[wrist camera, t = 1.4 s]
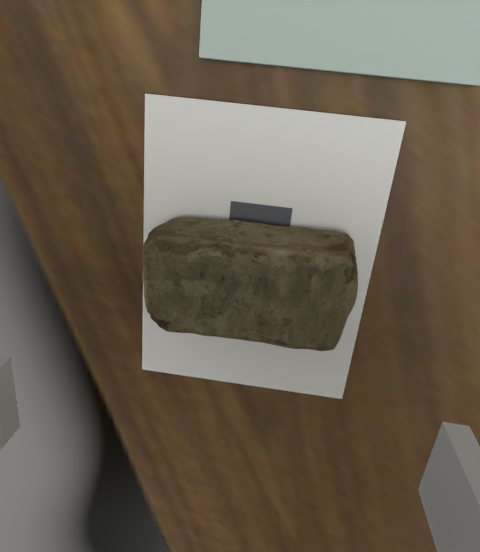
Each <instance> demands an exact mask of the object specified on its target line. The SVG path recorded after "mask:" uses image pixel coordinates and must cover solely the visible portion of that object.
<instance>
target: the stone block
mask: <svg viewBox="0 0 480 552" xmlns="http://www.w3.org/2000/svg"><path fill="white" fill-rule="evenodd" d="M142 262H143V273H142V280H143V283H144V298H145V305H146V309H147V312H148V313H149V314H150V317H151V319H152V320H153V321H154V322H155V323H157V325H158V326H159V327H160V328H162V329H164V330H165V331H167V332H177V333H194V334H198V335H203V336H213V337H222V338H230V339H239V340H246V341H253V342H262V343H267V344H272V345H276V346H281V347H285V348H292V349H311V350H317V351H329V350H333V349H335V347H336V345H337V344H338V342H339V340H340V338H341V335H342V332H343V329H344V327H345V324H346V321H347V318H348V316H349V314H350V312H351V311H352V309H353V307H354V304H355V301H356V297H357V291H358V270H357V263H356V256H355V248H354V241H353V239H352V238H351V237H350V236H349V235H348V234H347V233H340V232H337V231H327V230H315V229H310V228H305V227H288V226H274V225H268V224H263V223H255V222H244V221H239V220H219V219H208V218H195V217H178V218H173V219H171V220H169V221H167V222H165V223H163V224H161V225H159V226H157V227H155V228H153V229H152V231H151V232H149V234H148V238H147V239H146V241H145V243H144V245H143V250H142Z"/></svg>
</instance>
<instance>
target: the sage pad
mask: <svg viewBox="0 0 480 552" xmlns="http://www.w3.org/2000/svg"><path fill="white" fill-rule="evenodd" d="M199 57H200V58H202V59H211V60H221V61H231V62H240V63H250V64H260V65H270V66H280V67H290V68H300V69H310V70H320V71H330V72H340V73H349V74H359V75H369V76H379V77H389V78H399V79H409V80H419V81H429V82H439V83H449V84H458V85H468V86H480V0H202V11H201V29H200V48H199Z"/></svg>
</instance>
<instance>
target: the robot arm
mask: <svg viewBox="0 0 480 552" xmlns="http://www.w3.org/2000/svg"><path fill="white" fill-rule="evenodd" d="M19 427H20V423H19V416H18V408H17V401H16V395H15V386H14V379H13V372H12V365H11V358H10V357H4V356H0V450H1V449H2V448H3V447H4V445H5V444H6V443H7V442H8V441H9V439H10V438H11V437H12V436H13V434H14V433H15V432H16V431H17V429H18V428H19ZM418 492H419V495H420V498H421V501H422V505H423V508H424V511H425V514H426V517H427V521H428V524H429V527H430V530H431V534H432V537H433V540H434V543H435V547H436V550H437V552H480V446H479V444H478V442H477V440H476V438H475V436H474V434H473V432H472V430H471V428H470V426H467V425H460V424H453V423H447V422H442V424H441V427H440V430H439V432H438V435H437V438H436V441H435V444H434V446H433V449H432V452H431V455H430V458H429V460H428V463H427V466H426V469H425V471H424V474H423V477H422V480H421V483H420V485H419V488H418Z"/></svg>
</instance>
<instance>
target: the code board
mask: <svg viewBox="0 0 480 552" xmlns="http://www.w3.org/2000/svg"><path fill="white" fill-rule="evenodd" d="M405 125H406V121H398V120H389V119H380V118H370V117H361V116H352V115H342V114H333V113H324V112H314V111H305V110H296V109H286V108H277V107H268V106H258V105H249V104H239V103H230V102H221V101H211V100H202V99H193V98H183V97H174V96H165V95H155V94H145V146H144V238H143V245H144V243H145V241H146V239H147V238H148V234H149V232H151V231H152V229H153V228H155V227H157V226H159V225H161V224H163V223H165V222H167V221H169V220H171V219H173V218H178V217H195V218H208V219H219V220H239V221H244V222H255V223H263V224H268V225H274V226H288V227H305V228H310V229H315V230H327V231H337V232H340V233H347V234H348V235H349V236H350V237H351V238H352V239H353V241H354V248H355V256H356V263H357V270H358V291H357V297H356V301H355V304H354V307H353V309H352V311H351V312H350V314H349V316H348V318H347V321H346V324H345V327H344V329H343V332H342V335H341V338H340V340H339V342H338V344H337V345H336V347H335V349H333V350H329V351H317V350H311V349H292V348H285V347H281V346H276V345H272V344H267V343H262V342H253V341H246V340H239V339H230V338H222V337H213V336H203V335H198V334H194V333H177V332H167V331H165V330H164V329H162V328H160V327H159V326H158V325H157V323H155V322H154V321H153V320H152V319H151V317H150V314H149V313H148V312H147V309H146V305H145V298H144V283H143V330H142V369H143V370H150V371H157V372H163V373H170V374H177V375H184V376H190V377H197V378H204V379H210V380H217V381H224V382H231V383H237V384H244V385H251V386H257V387H264V388H271V389H278V390H284V391H291V392H298V393H304V394H311V395H318V396H325V397H331V398H338V399H342V397H343V393H344V389H345V384H346V380H347V376H348V371H349V367H350V363H351V358H352V354H353V350H354V345H355V341H356V337H357V332H358V328H359V324H360V319H361V315H362V311H363V306H364V302H365V298H366V293H367V289H368V285H369V280H370V276H371V272H372V267H373V263H374V259H375V254H376V250H377V246H378V241H379V237H380V233H381V228H382V224H383V220H384V215H385V211H386V207H387V202H388V198H389V194H390V189H391V185H392V181H393V176H394V172H395V168H396V163H397V159H398V155H399V150H400V146H401V142H402V138H403V133H404V129H405Z"/></svg>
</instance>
